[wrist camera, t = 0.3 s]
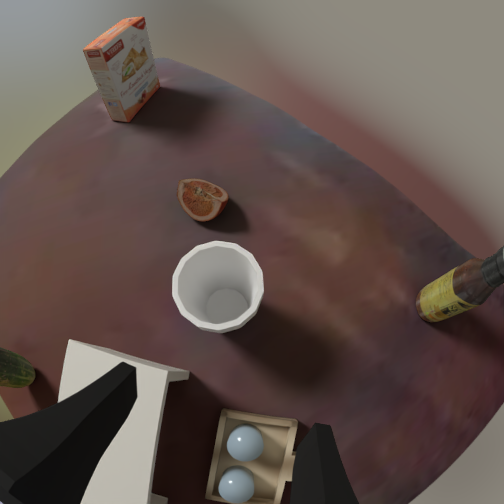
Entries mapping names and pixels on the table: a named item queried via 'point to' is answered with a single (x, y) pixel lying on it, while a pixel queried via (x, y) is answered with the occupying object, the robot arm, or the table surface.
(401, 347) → the table surface
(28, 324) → the table surface
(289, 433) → the serving board
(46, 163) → the table surface
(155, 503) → the shelf
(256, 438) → the grey-blue tapered cylinder
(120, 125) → the table surface
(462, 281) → the sauce bottle
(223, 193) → the fruit slice
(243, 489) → the pale blue rounded cylinder
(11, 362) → the vegetable
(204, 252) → the foam cup
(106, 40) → the cracker box
